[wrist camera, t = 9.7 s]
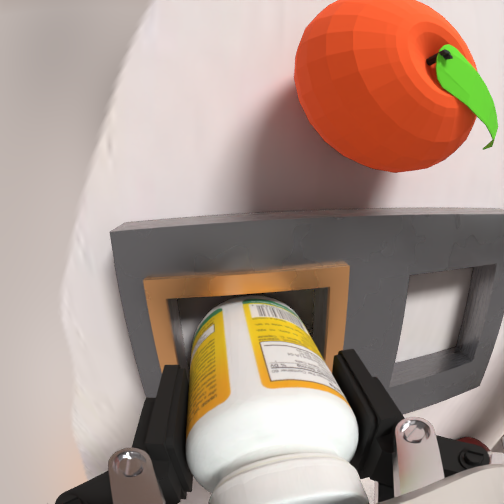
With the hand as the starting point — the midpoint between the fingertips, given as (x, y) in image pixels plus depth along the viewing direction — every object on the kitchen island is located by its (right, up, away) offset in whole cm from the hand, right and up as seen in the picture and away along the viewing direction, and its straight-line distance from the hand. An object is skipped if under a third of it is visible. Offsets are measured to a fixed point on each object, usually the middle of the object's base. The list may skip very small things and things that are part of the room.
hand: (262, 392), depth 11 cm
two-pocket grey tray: (+5, +1, +5) cm, 7 cm away
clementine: (+5, +12, +2) cm, 13 cm away
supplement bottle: (-1, +1, +4) cm, 4 cm away
